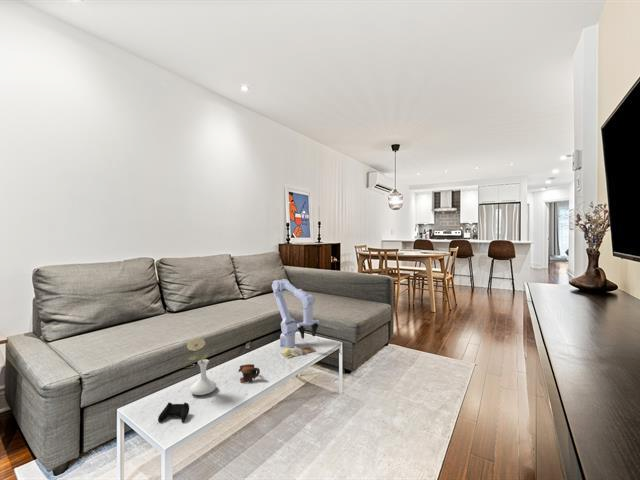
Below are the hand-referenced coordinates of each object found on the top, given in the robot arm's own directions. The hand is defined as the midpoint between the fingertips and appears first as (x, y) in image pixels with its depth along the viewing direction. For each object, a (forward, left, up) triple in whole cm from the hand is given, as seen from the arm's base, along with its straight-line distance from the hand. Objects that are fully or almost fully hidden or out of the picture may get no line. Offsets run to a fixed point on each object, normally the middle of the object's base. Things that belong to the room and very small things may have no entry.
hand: (308, 337), depth 186 cm
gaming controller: (-43, -70, -10) cm, 83 cm away
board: (-6, -3, -10) cm, 12 cm away
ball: (-10, -7, -8) cm, 15 cm away
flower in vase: (-42, -50, -10) cm, 67 cm away
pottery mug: (-25, -36, -10) cm, 45 cm away
